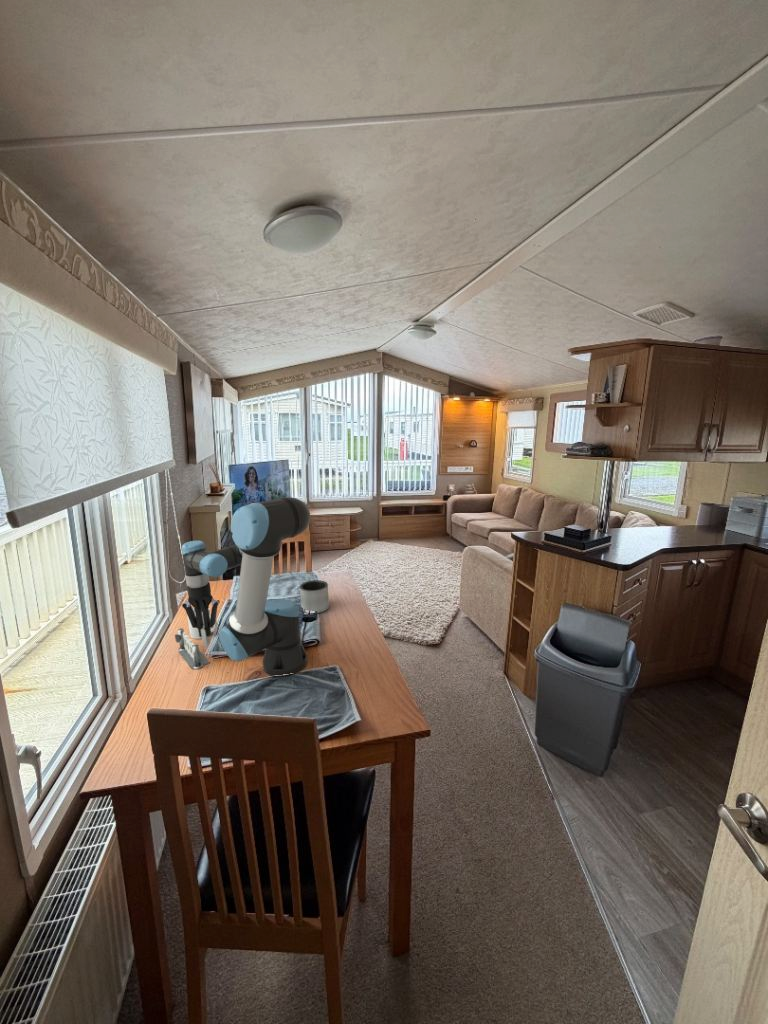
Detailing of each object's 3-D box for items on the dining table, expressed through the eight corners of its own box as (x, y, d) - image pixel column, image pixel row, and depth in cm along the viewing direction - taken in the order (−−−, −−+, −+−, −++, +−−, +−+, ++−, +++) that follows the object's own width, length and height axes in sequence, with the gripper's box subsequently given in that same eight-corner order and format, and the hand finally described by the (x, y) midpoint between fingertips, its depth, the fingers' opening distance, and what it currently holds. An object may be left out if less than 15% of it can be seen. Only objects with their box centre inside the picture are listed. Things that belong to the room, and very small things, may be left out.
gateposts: (204, 666, 147) (201, 646, 146) (193, 671, 145) (190, 650, 143) (186, 645, 161) (183, 626, 160) (175, 649, 159) (172, 630, 157)
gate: (197, 661, 149) (195, 644, 148) (194, 662, 149) (192, 645, 147) (187, 647, 158) (185, 631, 157) (184, 648, 158) (182, 632, 156)
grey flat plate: (210, 662, 150) (210, 661, 150) (192, 669, 146) (192, 668, 146) (195, 646, 161) (195, 645, 161) (178, 652, 157) (178, 651, 157)
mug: (224, 631, 172) (221, 608, 169) (211, 641, 164) (208, 617, 162) (199, 628, 175) (196, 605, 172) (185, 638, 167) (182, 614, 165)
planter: (304, 616, 183) (302, 592, 180) (298, 605, 194) (297, 582, 192) (332, 611, 187) (331, 588, 185) (325, 600, 199) (324, 578, 196)
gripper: (220, 579, 154) (227, 638, 159) (184, 580, 154) (193, 639, 159) (212, 587, 147) (220, 648, 152) (175, 588, 147) (184, 650, 152)
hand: (206, 643), depth 155 cm, fingers closed
